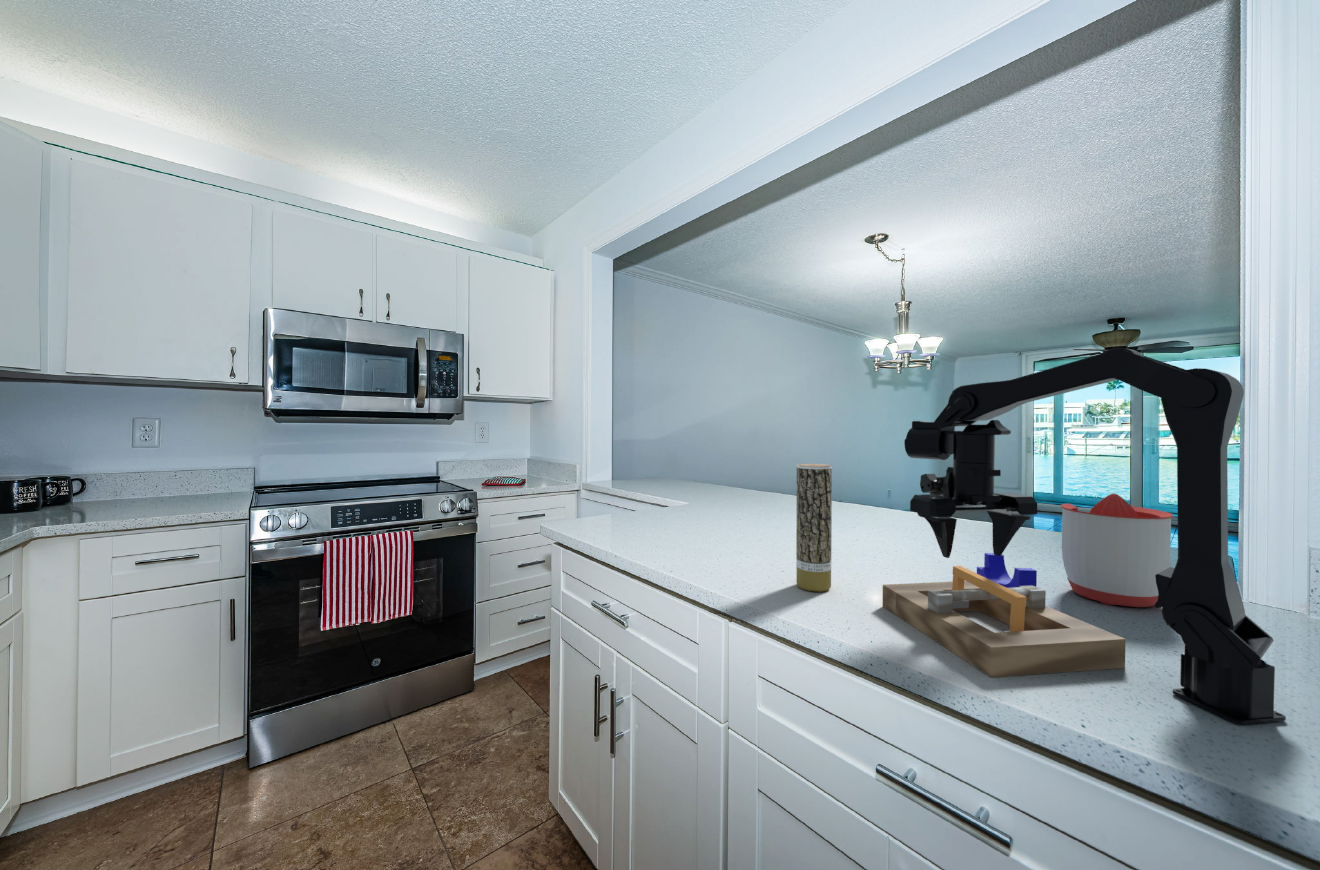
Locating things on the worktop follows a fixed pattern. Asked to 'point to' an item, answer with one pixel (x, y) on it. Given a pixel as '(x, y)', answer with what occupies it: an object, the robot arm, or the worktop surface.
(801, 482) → the paper tube
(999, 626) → the worktop surface
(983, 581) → the orange staple arch
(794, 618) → the worktop surface
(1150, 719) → the worktop surface
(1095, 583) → the citrus juicer
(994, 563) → the cable clip
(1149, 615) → the worktop surface
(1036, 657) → the wooden picture frame
